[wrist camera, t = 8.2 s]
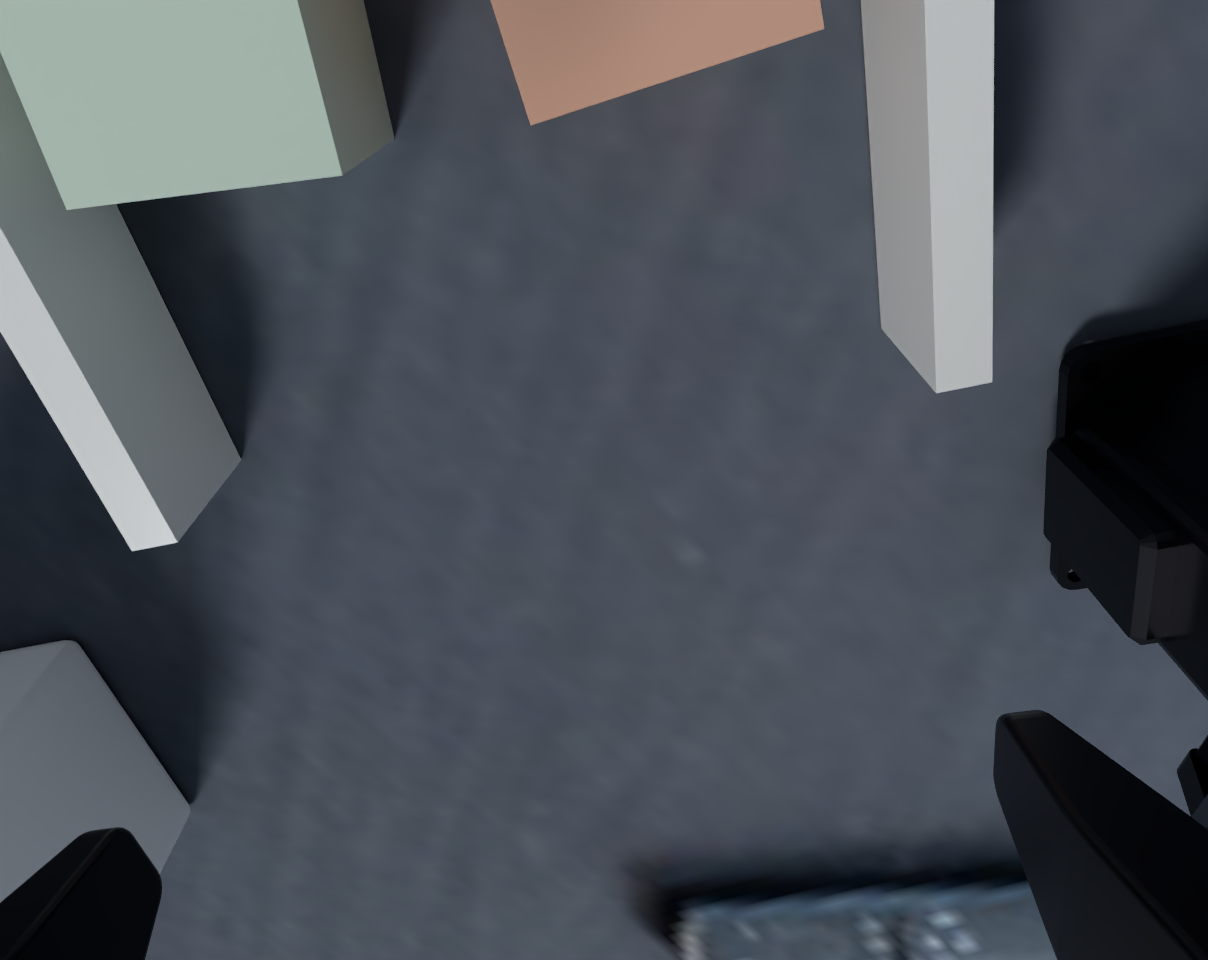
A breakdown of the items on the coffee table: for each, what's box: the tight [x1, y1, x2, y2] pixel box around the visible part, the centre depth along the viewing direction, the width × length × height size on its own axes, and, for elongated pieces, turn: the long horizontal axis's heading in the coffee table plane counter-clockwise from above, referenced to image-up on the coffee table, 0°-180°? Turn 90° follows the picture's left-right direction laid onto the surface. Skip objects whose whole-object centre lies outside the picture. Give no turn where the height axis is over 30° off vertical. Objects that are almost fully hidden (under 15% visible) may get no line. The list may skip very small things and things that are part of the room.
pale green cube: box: [0, 0, 394, 210], centre depth 14 cm, size 4×4×4 cm
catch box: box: [0, 0, 994, 551], centre depth 14 cm, size 17×16×4 cm
